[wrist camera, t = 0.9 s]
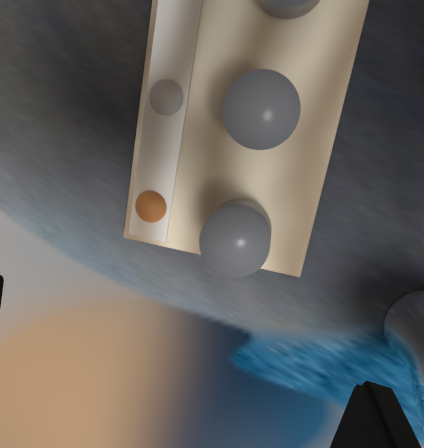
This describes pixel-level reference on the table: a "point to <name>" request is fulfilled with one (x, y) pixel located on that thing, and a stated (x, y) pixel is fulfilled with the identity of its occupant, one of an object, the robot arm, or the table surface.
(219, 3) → the button board
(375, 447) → the robot arm
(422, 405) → the beer glass
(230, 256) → the button
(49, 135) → the table surface
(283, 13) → the button
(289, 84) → the button middle
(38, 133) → the table surface
